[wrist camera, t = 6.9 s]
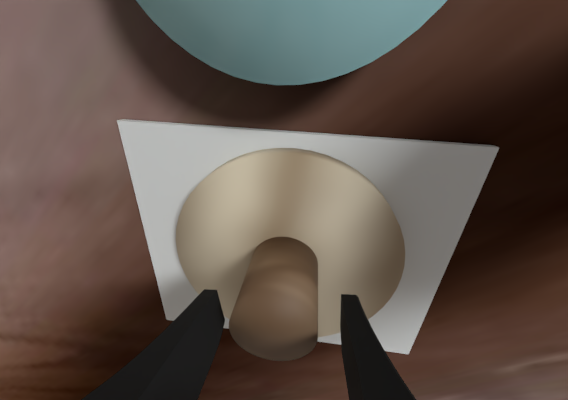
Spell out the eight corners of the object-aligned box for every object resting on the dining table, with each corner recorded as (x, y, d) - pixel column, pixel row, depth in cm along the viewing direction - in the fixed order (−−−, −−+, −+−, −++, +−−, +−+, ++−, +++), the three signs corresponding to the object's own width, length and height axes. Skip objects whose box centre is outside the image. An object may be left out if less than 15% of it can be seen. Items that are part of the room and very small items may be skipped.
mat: (493, 145, 11) (499, 147, 10) (406, 348, 17) (408, 354, 17) (123, 119, 12) (117, 120, 12) (169, 315, 19) (166, 319, 18)
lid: (414, 140, 11) (484, 186, 6) (387, 329, 16) (414, 427, 11) (157, 153, 12) (68, 197, 8) (209, 319, 18) (172, 401, 13)
